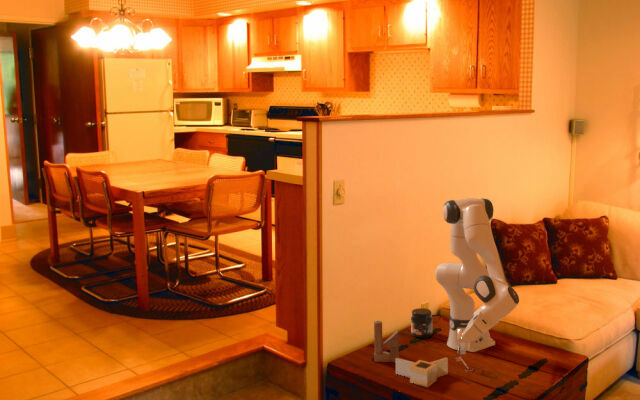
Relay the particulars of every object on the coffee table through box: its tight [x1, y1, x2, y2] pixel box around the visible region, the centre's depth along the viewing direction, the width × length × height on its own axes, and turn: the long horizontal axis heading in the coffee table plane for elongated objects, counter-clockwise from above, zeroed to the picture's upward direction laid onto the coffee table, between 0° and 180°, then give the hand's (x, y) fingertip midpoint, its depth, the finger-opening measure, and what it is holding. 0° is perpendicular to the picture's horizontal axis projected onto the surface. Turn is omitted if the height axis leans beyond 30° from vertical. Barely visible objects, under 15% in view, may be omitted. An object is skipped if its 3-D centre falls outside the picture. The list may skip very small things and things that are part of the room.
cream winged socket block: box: [394, 356, 449, 388], centre depth 262 cm, size 18×16×7 cm
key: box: [454, 356, 475, 373], centre depth 272 cm, size 6×1×15 cm
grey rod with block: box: [373, 320, 400, 363], centre depth 277 cm, size 4×11×18 cm, turn 81°
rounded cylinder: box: [456, 328, 467, 356], centre depth 252 cm, size 3×3×10 cm
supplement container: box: [410, 307, 433, 339], centre depth 306 cm, size 10×10×12 cm
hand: (459, 339), depth 253 cm, fingers closed on rounded cylinder, 3 cm apart
